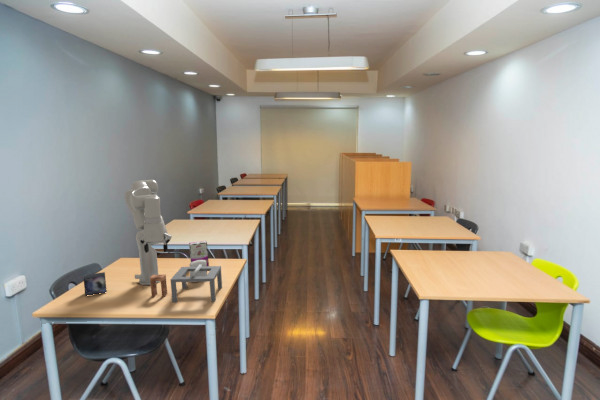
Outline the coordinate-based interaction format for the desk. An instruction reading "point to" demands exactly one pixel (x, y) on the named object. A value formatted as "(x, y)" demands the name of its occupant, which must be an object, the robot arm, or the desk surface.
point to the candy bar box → (199, 251)
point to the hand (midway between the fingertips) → (156, 251)
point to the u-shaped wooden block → (154, 286)
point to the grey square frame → (197, 279)
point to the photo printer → (195, 264)
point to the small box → (95, 283)
